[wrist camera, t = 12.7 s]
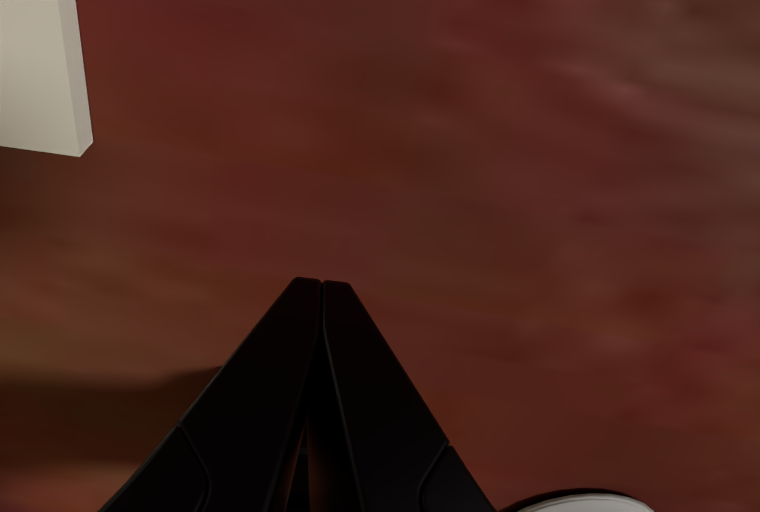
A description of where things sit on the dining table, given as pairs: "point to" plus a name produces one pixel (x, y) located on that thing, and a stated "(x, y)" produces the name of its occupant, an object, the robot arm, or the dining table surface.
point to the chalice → (589, 504)
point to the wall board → (42, 78)
